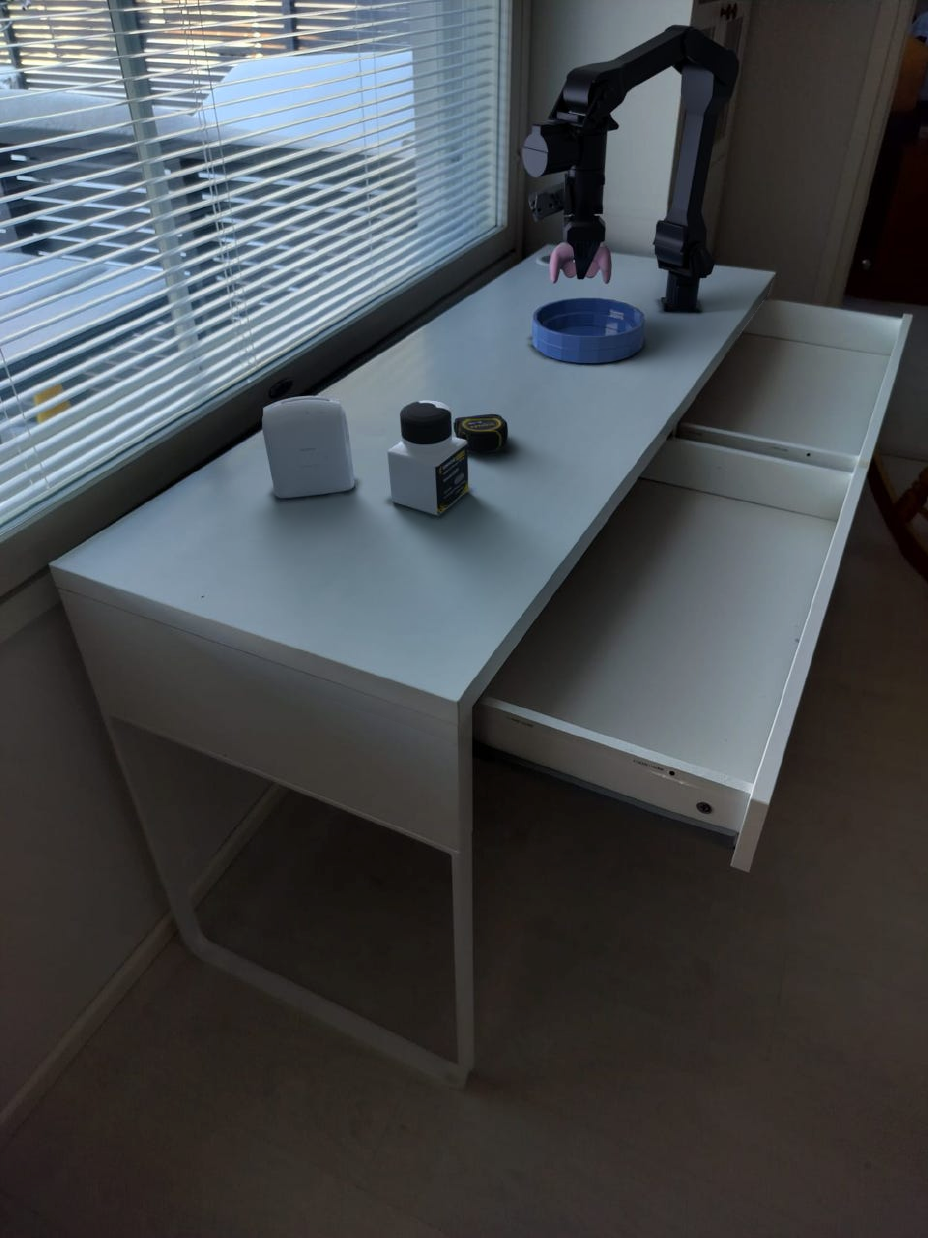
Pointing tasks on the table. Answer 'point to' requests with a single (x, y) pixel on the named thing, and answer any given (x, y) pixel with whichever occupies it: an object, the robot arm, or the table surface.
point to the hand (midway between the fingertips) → (580, 272)
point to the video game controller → (564, 260)
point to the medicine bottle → (428, 459)
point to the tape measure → (482, 432)
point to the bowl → (588, 330)
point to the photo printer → (308, 446)
